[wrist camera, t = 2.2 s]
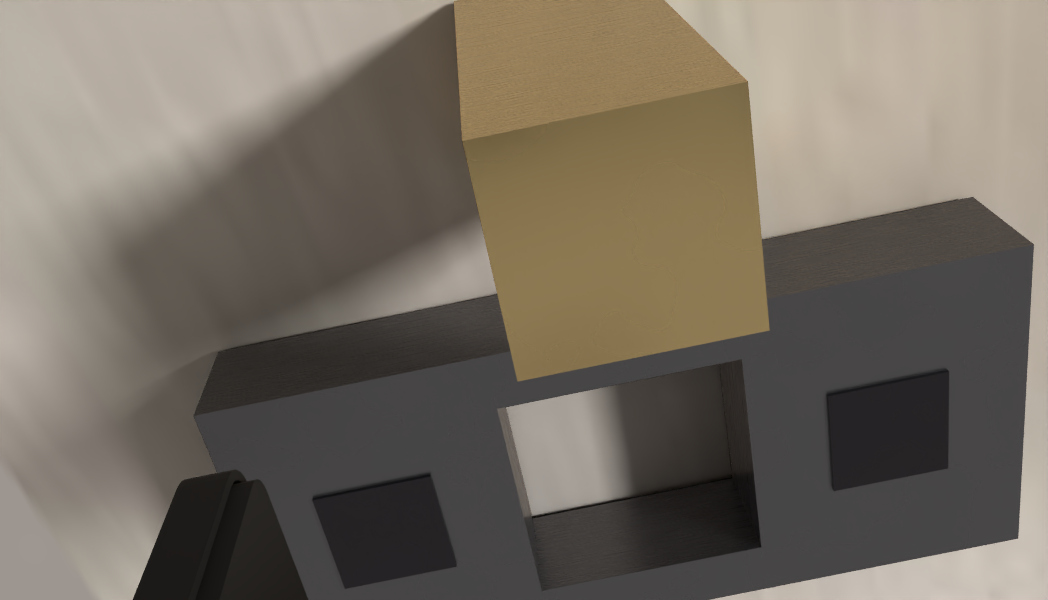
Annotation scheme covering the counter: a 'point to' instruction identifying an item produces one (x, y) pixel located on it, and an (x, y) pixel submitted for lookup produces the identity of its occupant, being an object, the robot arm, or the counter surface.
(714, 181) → the brass peg
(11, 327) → the counter surface
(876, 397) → the grey peg hole board
